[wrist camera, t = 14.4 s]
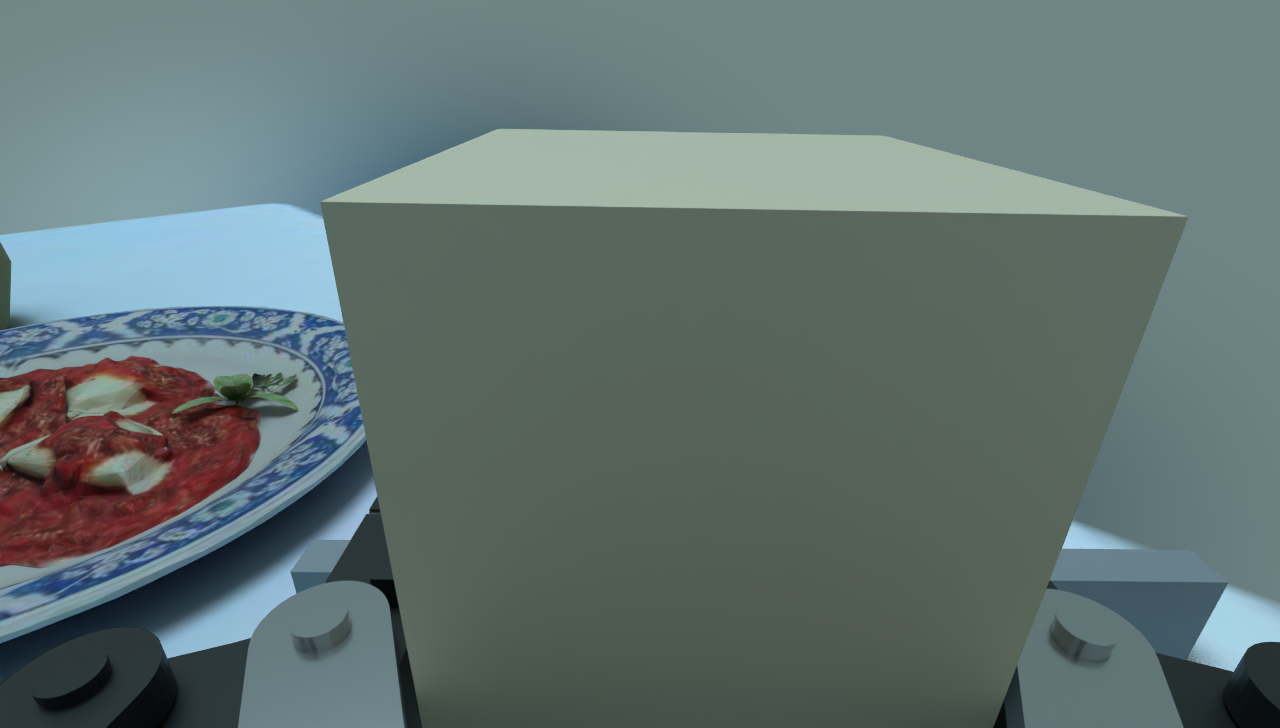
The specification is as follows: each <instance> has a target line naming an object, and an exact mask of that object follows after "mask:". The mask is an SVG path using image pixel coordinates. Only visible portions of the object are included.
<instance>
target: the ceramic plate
mask: <svg viewBox="0 0 1280 728" xmlns="http://www.w3.org/2000/svg"><path fill="white" fill-rule="evenodd" d="M365 441H366V435H365V430H364V425H363V419H362V414H361V409H360V404H359V399H358V394H357V389H356V383H355V378H354V373H353V368H352V363H351V358H350V353H349V348H348V342H347V337H346V332H345V327H344V323H343V322H340V321H337V320H334V319H331V318H328V317H324V316H320V315H316V314H312V313H305V312H298V311H290V310H282V309H275V308H267V307H245V306H206V307H169V308H157V309H144V310H133V311H124V312H116V313H107V314H100V315H92V316H85V317H78V318H71V319H63V320H56V321H49V322H43V323H38V324H32V325H27V326H21V327H16V328H11V329H6V330H1V331H0V643H3V642H5V641H8V640H11V639H13V638H16V637H19V636H21V635H24V634H27V633H30V632H32V631H35V630H37V629H40V628H42V627H45V626H47V625H50V624H52V623H55V622H58V621H60V620H63V619H65V618H68V617H70V616H73V615H75V614H78V613H80V612H83V611H85V610H88V609H91V608H93V607H96V606H98V605H101V604H103V603H105V602H108V601H110V600H113V599H115V598H118V597H120V596H122V595H124V594H127V593H129V592H131V591H133V590H135V589H137V588H139V587H142V586H144V585H146V584H148V583H150V582H152V581H154V580H156V579H158V578H160V577H162V576H164V575H166V574H168V573H170V572H172V571H174V570H176V569H178V568H181V567H183V566H185V565H187V564H189V563H191V562H193V561H195V560H197V559H199V558H201V557H203V556H205V555H207V554H209V553H211V552H213V551H214V550H216V549H218V548H220V547H222V546H224V545H226V544H227V543H229V542H231V541H232V540H234V539H236V538H238V537H239V536H241V535H243V534H244V533H246V532H248V531H250V530H251V529H253V528H255V527H256V526H258V525H260V524H262V523H263V522H265V521H267V520H268V519H270V518H271V517H273V516H274V515H276V514H277V513H279V512H280V511H282V510H283V509H285V508H286V507H288V506H289V505H291V504H292V503H294V502H295V501H297V500H298V499H299V498H301V497H302V496H303V495H305V494H306V493H307V492H309V491H310V490H312V489H313V488H314V487H316V486H317V485H318V484H319V483H321V482H322V481H323V480H324V479H325V478H327V477H328V476H329V475H330V474H332V473H333V472H334V471H335V470H336V469H338V468H339V467H340V466H341V465H342V464H343V463H344V462H345V461H346V460H347V459H348V458H350V457H351V456H352V455H353V454H354V453H355V452H356V451H357V450H358V449H359V448H360V447H361V445H362V444H363V443H364V442H365Z"/></svg>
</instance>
